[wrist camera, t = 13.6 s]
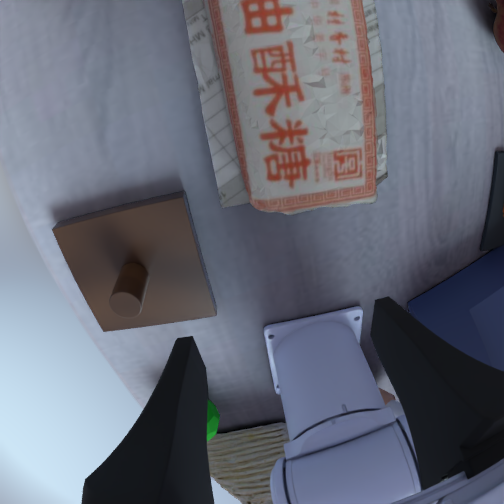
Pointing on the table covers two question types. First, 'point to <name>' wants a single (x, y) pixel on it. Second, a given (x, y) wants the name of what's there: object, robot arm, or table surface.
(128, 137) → the table surface
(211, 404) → the polyhedron
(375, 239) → the table surface
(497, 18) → the apple
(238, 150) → the packaged product
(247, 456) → the fossil tooth
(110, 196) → the table surface
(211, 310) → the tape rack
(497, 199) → the rubber pad
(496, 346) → the phone stand
